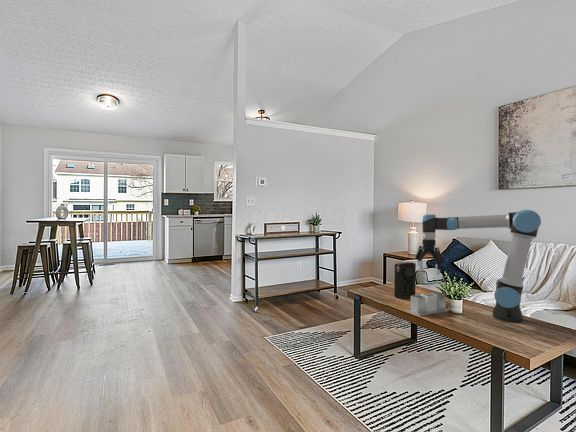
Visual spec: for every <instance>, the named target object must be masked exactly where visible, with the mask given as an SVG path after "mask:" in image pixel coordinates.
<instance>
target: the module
mask: <svg viewBox="0 0 576 432" xmlns="http://www.w3.org/2000/svg"><path fill="white" fill-rule="evenodd" d="M420 294H421V293H420ZM420 296H423V297H425V311H427V312H428V311H434V310H437V296H436V295H433V294H431V293H422V294H421V295H420Z"/></svg>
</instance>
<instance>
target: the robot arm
mask: <svg viewBox="0 0 576 432" xmlns="http://www.w3.org/2000/svg"><path fill="white" fill-rule="evenodd" d="M541 224H542V219H541V216H540V215H539V214H538V213H537V212H536V211H534V210H532V209H531V210H530V209H522V210H519V211H515V212H508V213H506V214H492V215H490V214H489V215H476V216H475V215H472V216H470V215H469V216H448V217H436V214H423V215H422V244H421V245H419V246H418V250H417V253H416V255H415V260H416V261H417V266H418V272H423V267H424V266H423V259H424V258H425V256H426V255H427V254H428V255H431V257H432V258H433V259H434V261H435V275H436V276H440V275H441V270H442V269H441V265H442V264H444V259H443V256H442V254H441V251H440V247H435V246H436V241H437V240H436V231H437V230H439V231H442V230H443V231H457V229H458V230H461V229H462V230H466V229H496V228H498V229H499V228H508V229H509V230H510V234H511V236H512V237H511V242H510V245H509V250H508V253H507V258H506V262H505V266H504V270H503V273H502V277H499V278H497V279H496V282H495V284H496V285H495V286H496V287H495V288H496V289H495V291H494V295H493V296H494V299H495V306H494V307H493V310H492V314H491V315H492V318H494V319H496V320H499V321H503V322H506V323H507V322H508V323H515V324H516V323H523V322H524V316H523V312H522V310H521V304H520V303H521V301H522V294H523V290H524V285H523V283H522V279H523V275H524V272H525V268H526V265H527V260H528V256H529V252H530V248H531V245H532V241H533V239H535V238H537V235H538V231H539V228H540V226H541Z"/></svg>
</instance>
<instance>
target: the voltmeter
mask: <svg viewBox="0 0 576 432" xmlns="http://www.w3.org/2000/svg"><path fill="white" fill-rule="evenodd" d="M416 266H417V265H416V262H413V261H412V262H411V261H409V262H407V261H406V262H398V263H394V291H393V292H394V293H393V295H394V297H395V298H399V299H401V300H403V299H409V298H410V299H411V296H413V295H415V294H416V275H417V274H416V271H417V270H416Z"/></svg>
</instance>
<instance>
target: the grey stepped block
mask: <svg viewBox="0 0 576 432" xmlns="http://www.w3.org/2000/svg"><path fill="white" fill-rule="evenodd" d="M430 294H433V295H436V296H437V310H434V311H428V312H427V311H425V297H423V296H420V295H413V296H411V297H410V304H409V305H410V308H408V309H407V312H408V313H411V314H413V315H416V316H418V317H422V316H423V317H424V316H427V315H434V314H440V313H447V312H449V308H446V296H445V295H446V294H445V293H442V292H439V291H438V292H437V291H436V292H431V293H430ZM444 294H445V295H444Z"/></svg>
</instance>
